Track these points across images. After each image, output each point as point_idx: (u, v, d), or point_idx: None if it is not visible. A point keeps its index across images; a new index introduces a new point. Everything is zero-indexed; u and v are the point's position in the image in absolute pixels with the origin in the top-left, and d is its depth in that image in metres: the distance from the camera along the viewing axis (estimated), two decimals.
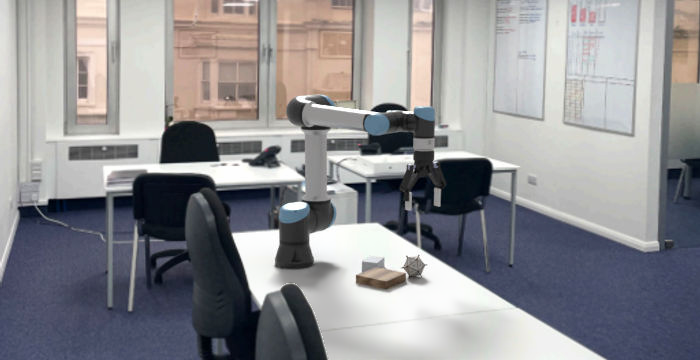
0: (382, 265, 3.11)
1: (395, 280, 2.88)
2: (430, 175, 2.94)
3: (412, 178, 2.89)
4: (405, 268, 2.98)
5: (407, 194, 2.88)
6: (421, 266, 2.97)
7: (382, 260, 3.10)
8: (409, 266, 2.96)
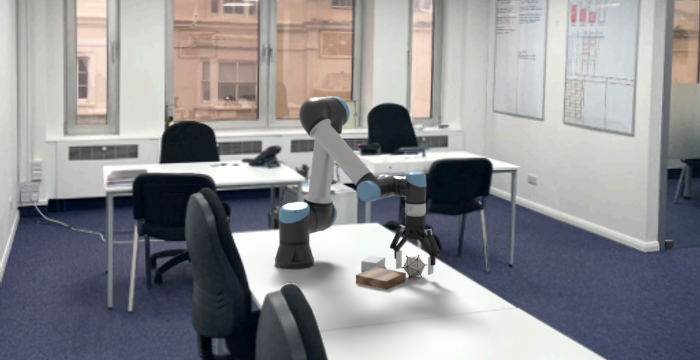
0: (382, 265, 3.10)
1: (395, 280, 2.88)
2: None
3: None
4: (405, 268, 2.98)
5: (395, 252, 3.02)
6: (421, 266, 2.97)
7: (382, 260, 3.10)
8: (409, 266, 2.96)
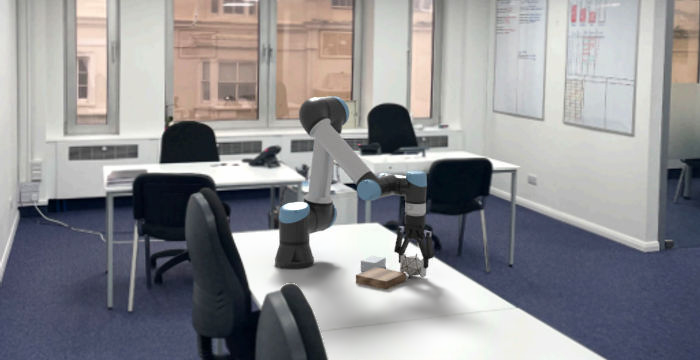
0: (382, 265, 3.10)
1: (395, 280, 2.88)
2: None
3: None
4: (404, 268, 2.98)
5: (399, 256, 3.01)
6: (420, 265, 2.97)
7: (382, 260, 3.10)
8: (408, 266, 2.96)
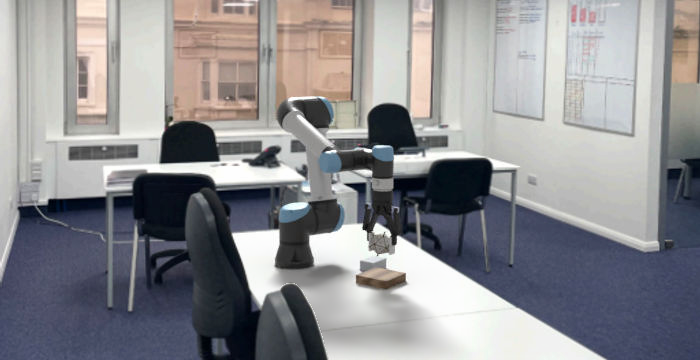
0: (382, 266, 3.10)
1: (395, 280, 2.88)
2: None
3: None
4: (372, 246, 2.89)
5: (368, 234, 2.92)
6: (388, 242, 2.88)
7: (382, 261, 3.09)
8: (376, 244, 2.87)
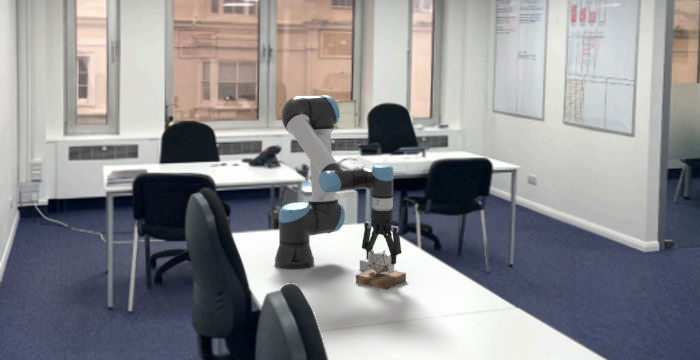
0: None
1: (395, 280, 2.88)
2: None
3: None
4: (372, 265, 2.90)
5: (367, 252, 2.93)
6: (388, 261, 2.89)
7: None
8: (376, 263, 2.88)
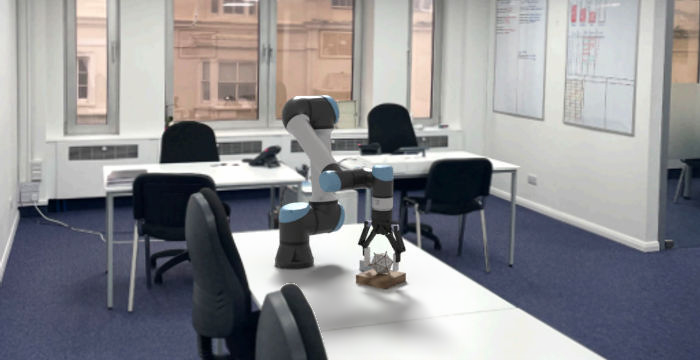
0: None
1: (395, 280, 2.88)
2: None
3: None
4: (373, 265, 2.90)
5: (363, 249, 2.94)
6: (389, 263, 2.89)
7: None
8: (377, 263, 2.88)
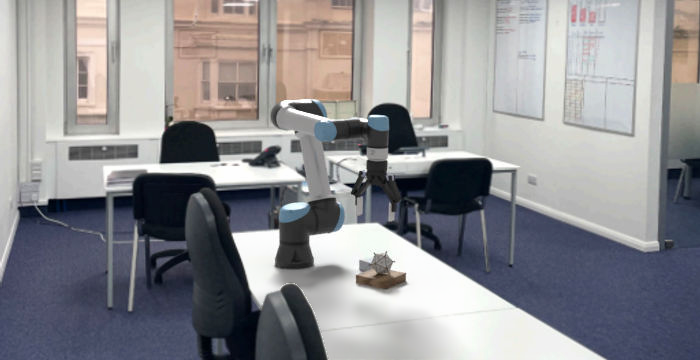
0: None
1: (395, 280, 2.88)
2: None
3: None
4: (373, 265, 2.90)
5: (356, 198, 2.94)
6: (389, 263, 2.89)
7: None
8: (377, 263, 2.88)
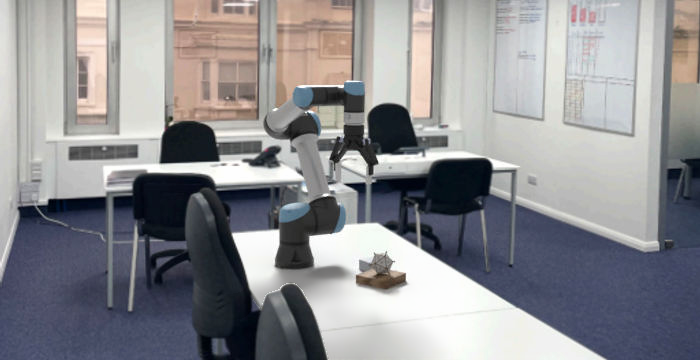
0: None
1: (395, 280, 2.88)
2: None
3: None
4: (373, 265, 2.90)
5: (334, 164, 2.99)
6: (389, 263, 2.89)
7: None
8: (377, 263, 2.88)
